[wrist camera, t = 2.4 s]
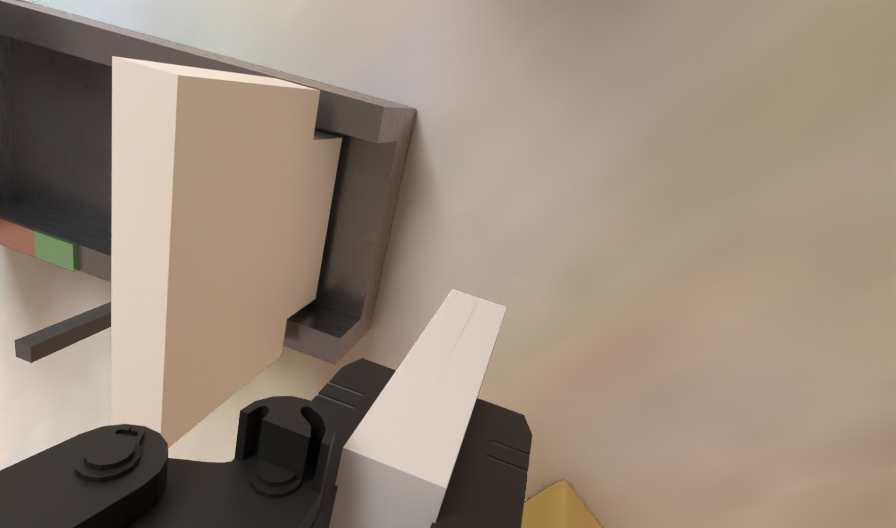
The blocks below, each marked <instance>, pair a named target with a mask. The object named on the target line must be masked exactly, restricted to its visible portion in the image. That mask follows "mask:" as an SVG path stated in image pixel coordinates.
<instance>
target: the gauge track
mask: <svg viewBox="0 0 896 528" xmlns="http://www.w3.org/2000/svg"><path fill="white" fill-rule="evenodd" d="M112 56H115V57H122V58H129V59H137V60H144V61H152V62H159V63H166V64H174V65H181V66H189V67H196V68H203V69H211V70H218V71H226V72H233V73H240V74H248V75H255V76H263V77H270V78H277V79H280V80H284V81H287V82H291V83H295V84H298V85H302V86H305V87H309V88H313V89H316V90H320V96H319V103H318V110H317V116H316V123H315V130H317V131H320V132H324V133H327V134H331V135H334V136H338V137H341V138H342V142H341V148H340V154H339V160H338V166H337V172H336V178H335V184H334V190H333V196H332V202H331V208H330V214H329V221H328V227H327V233H326V239H325V245H324V251H323V257H322V263H321V269H320V275H319V281H318V287H317V293H316V299H314V300H313V301H312V302H310V303H309V304H307V305H306V306H305V307H303V308H302V309H300V310H299V311H298V312H296V313H295V314H293V315H292V316H291V317H289V318H288V319H287V322H286V329H285V336H284V343H283V345H284V346H286V347H289V348H292V349H294V350H297V351H300V352H303V353H305V354H308V355H311V356H313V357H316V358H319V359H322V360H324V361H327V362H330V363H332V364H336V363H337V362H338V361H339V360H340V359H341V358H342V357H343V356H344V355H345V354H346V353H347V351H348V350H349V349H350V348H351V347H352V346H353V345H354V344H355V343H356V342H357V341H358V340H359V339H360V338H361V337H362V336H363V335H364V334H365V333H366V331H367V330H368V329H369V328H370V323H371V319H372V314H373V309H374V305H375V300H376V295H377V291H378V286H379V281H380V277H381V272H382V267H383V263H384V258H385V253H386V249H387V244H388V239H389V235H390V230H391V225H392V221H393V216H394V211H395V207H396V202H397V197H398V193H399V188H400V183H401V179H402V174H403V169H404V165H405V160H406V155H407V151H408V146H409V141H410V137H411V132H412V127H413V123H414V118H415V113H416V109H415V108H412V107H408V106H404V105H401V104H397V103H393V102H390V101H386V100H382V99H379V98H375V97H371V96H368V95H364V94H361V93H357V92H353V91H350V90H346V89H342V88H339V87H335V86H331V85H328V84H324V83H321V82H317V81H313V80H310V79H306V78H302V77H299V76H295V75H291V74H288V73H284V72H281V71H277V70H273V69H270V68H266V67H262V66H259V65H255V64H251V63H248V62H244V61H240V60H237V59H233V58H230V57H226V56H222V55H219V54H215V53H211V52H208V51H204V50H200V49H197V48H193V47H190V46H186V45H182V44H179V43H175V42H171V41H168V40H164V39H160V38H157V37H153V36H150V35H146V34H142V33H139V32H135V31H131V30H128V29H124V28H120V27H117V26H113V25H110V24H106V23H102V22H99V21H95V20H91V19H88V18H84V17H80V16H77V15H73V14H69V13H66V12H62V11H59V10H55V9H51V8H48V7H44V6H40V5H37V4H33V3H29V2H26V1H22V0H0V245H3V246H6V247H8V248H11V249H14V250H17V251H19V252H22V253H25V254H27V255H30V256H33V257H36V258H38V259H41V260H44V261H46V262H49V263H52V264H54V265H57V266H60V267H63V268H65V269H68V270H71V271H73V272H74V271H77V270H80V271H83V272H85V273H88V274H91V275H94V276H96V277H99V278H102V279H104V280H107V281H110V282H111V238H112Z"/></svg>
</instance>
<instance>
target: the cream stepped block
mask: <svg viewBox="0 0 896 528" xmlns="http://www.w3.org/2000/svg"><path fill="white" fill-rule="evenodd" d="M319 96H320V90H316V89H313V88H309V87H305V86H302V85H298V84H295V83H291V82H287V81H284V80H280V79H277V78H270V77H263V76H255V75H248V74H240V73H233V72H226V71H218V70H211V69H203V68H196V67H189V66H181V65H174V64H166V63H159V62H152V61H144V60H137V59H129V58H122V57H115V56H112V238H111V425H120V424H131V425H139V426H146V427H148V428H150V429H152V430H154V431H156V432H159V433H160V434H161V435H162V437H163V438H164V439H165V441H166V442H167V443H168V448H169V447H170V446H171V445H173V444H174V443H175V442H176V441H177V440H179V439H180V438H181V437H182V436H184V435H185V434H186V433H187V432H188V431H190V430H191V429H192V428H193V427H194V426H196V425H197V424H198V423H199V422H201V421H202V420H203V419H204V418H205V417H207V416H208V415H209V414H210V413H211V412H213V411H214V410H215V409H216V408H218V407H219V406H220V405H221V404H222V403H224V402H225V401H226V400H227V399H229V398H230V397H231V396H232V395H233V394H235V393H236V392H237V391H238V390H239V389H241V388H242V387H243V386H244V385H246V384H247V383H248V382H249V381H250V380H252V379H253V378H254V377H255V376H256V375H258V374H259V373H260V372H261V371H263V370H264V369H265V368H266V367H267V366H269V365H270V364H271V363H272V362H273V361H275V360H276V359H277V358H278V357H280V356H281V355H282V349H283V343H284V336H285V329H286V322H287V319H288V318H289V317H291V316H292V315H293V314H295V313H296V312H298V311H299V310H300V309H302V308H303V307H305V306H306V305H307V304H309V303H310V302H312V301H313V300H314V299H316V293H317V287H318V281H319V275H320V269H321V263H322V257H323V251H324V245H325V239H326V233H327V227H328V221H329V214H330V208H331V202H332V196H333V190H334V184H335V178H336V172H337V166H338V160H339V154H340V148H341V142H342V138H341V137H338V136H334V135H331V134H327V133H324V132H320V131H317V130H315V123H316V116H317V110H318V103H319Z"/></svg>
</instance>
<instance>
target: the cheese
mask: <svg viewBox="0 0 896 528" xmlns="http://www.w3.org/2000/svg"><path fill="white" fill-rule="evenodd" d="M521 528H602V527H601V526H600V524H599V523H598V522H597V520H596V519H595V518H594V516H593V515H592V514H591V513H590V512H589V510H588V509H587V508H586V506H585V505H584V503H583V502H582V500H581V499H580V498H579V496H578V495H577V494H576V492H575V491H574V490H573V488H572V487H571V486H570V485H569V484H568V483H567V482H566V481H565V480H562V481H559V482H556V483H555V484H553V485H551V486H549V487H547V488H546V489H544V490H543V491H541V492H540V493H538V494H537V495H535V496H534V497H532V498H531V499H529V500H528V501H527V502H525V503H524V507H523V516H522V524H521Z"/></svg>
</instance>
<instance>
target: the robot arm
mask: <svg viewBox="0 0 896 528" xmlns="http://www.w3.org/2000/svg"><path fill="white" fill-rule="evenodd" d="M506 308H507V307H506V306H503V305H500V304H496V303H493V302H490V301H487V300H484V299H481V298H478V297H475V296H472V295H469V294H466V293H463V292H460V291H457V290H454V289H452V290H451V292H450V293H449V295H448V296H447V297H446V299H445V300H444V302H443V303H442V305H441V306H440V308H439V309H438V310H437V312H436V313H435V315H434V316H433V318H432V319H431V321H430V322H429V324H428V325H427V326H426V328H425V329H424V331H423V332H422V334H421V335H420V337H419V338H418V340H417V341H416V342H415V344H414V345H413V347H412V348H411V350H410V351H409V353H408V354H407V356H406V357H405V358H404V360H403V361H402V363H401V364H400V366H399V367H398V369H397V370H393V369H390V368H387V367H385V366H382V365H379V364H376V363H374V362H371V361H368V360H365V359H363V358H362V359H360V360H357V361H355V362H353V363H350V364H348V365H346V366H344V367H342V368H341V369H340V370H339V371H338V372H337V374H336V375H335V376H334V377H333V378H332V379H331V380H330V382H329V384H326V386H325V387H324V388H323V389H322V390H321V391H320V392H319V394H318V396H315V398H314V399H313V400H312V401H310V400H306V399H301V398H297V397H293V396H278V397H270V398H266V399H262V400H258V401H255V402H253V403H252V404H250V405H248V406H247V407H245V408H243V409H242V410H240V417H239V425H238V434H237V442H236V451H235V458H234V459H233V460H232V461H231V462H225V463H214V462H200V461H191V460H182V459H172V458H168V443H167V442H166V441H165V439H164V438H163V437H162V435H161V434H160V433H159V432H156V431H154V430H152V429H150V428H148V427H146V426H139V425H131V424H120V425H111V426H103V427H100V428H97V429H94V430H91V431H88V432H85V433H82V434H79V435H77V436H75V437H73V438H71V439H68V440H66V441H64V442H62V443H60V444H58V445H55V446H53V447H51V448H49V449H47V450H44V451H42V452H40V453H38V454H36V455H33V456H31V457H29V458H27V459H25V460H23V461H20V462H18V463H16V464H14V465H12V466H9V467H7V468H5V469H3V470H1V471H0V528H521V524H522V516H523V507H524V499H525V490H526V482H527V471H528V465H529V455H530V448H531V440H532V433H531V431H530V429H529V426H528V424H527V421H526V419H525V417H524V415H522V414H519V413H516V412H514V411H511V410H508V409H505V408H503V407H500V406H497V405H494V404H492V403H489V402H486V401H483V400H481V399H478V395H479V392H480V389H481V386H482V383H483V379H484V376H485V373H486V370H487V367H488V364H489V361H490V358H491V355H492V351H493V348H494V345H495V342H496V339H497V336H498V333H499V330H500V326H501V323H502V320H503V317H504V314H505V311H506Z"/></svg>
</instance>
